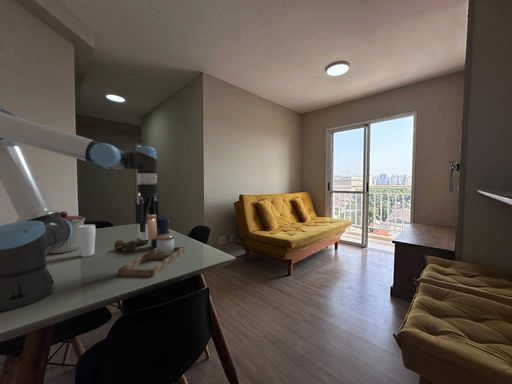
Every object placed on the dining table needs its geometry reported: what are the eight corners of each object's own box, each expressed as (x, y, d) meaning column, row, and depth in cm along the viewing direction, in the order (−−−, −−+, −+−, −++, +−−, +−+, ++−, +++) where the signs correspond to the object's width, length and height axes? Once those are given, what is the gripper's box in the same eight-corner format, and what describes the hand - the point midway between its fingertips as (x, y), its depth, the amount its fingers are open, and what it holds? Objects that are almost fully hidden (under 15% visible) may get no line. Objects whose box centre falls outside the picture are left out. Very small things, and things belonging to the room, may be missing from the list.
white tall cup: (99, 253, 105) (98, 224, 105) (87, 258, 98) (86, 227, 98) (87, 252, 106) (86, 224, 105) (74, 257, 99) (73, 227, 98)
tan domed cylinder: (151, 240, 84) (150, 216, 84) (136, 240, 85) (136, 216, 84) (159, 236, 91) (159, 214, 90) (146, 236, 91) (145, 213, 91)
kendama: (152, 245, 121) (120, 255, 102) (139, 244, 124) (106, 254, 105) (152, 235, 121) (120, 243, 102) (139, 234, 124) (106, 242, 105)
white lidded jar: (169, 258, 98) (169, 238, 97) (152, 258, 98) (152, 237, 98) (177, 252, 106) (177, 233, 106) (162, 252, 107) (161, 233, 106)
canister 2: (152, 245, 119) (152, 214, 118) (170, 243, 122) (169, 213, 121) (149, 250, 110) (148, 217, 109) (168, 248, 113) (168, 216, 112)
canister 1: (76, 243, 122) (75, 208, 121) (93, 248, 114) (92, 210, 113) (33, 253, 105) (31, 212, 104) (49, 258, 97) (47, 215, 96)
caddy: (152, 276, 79) (152, 270, 79) (118, 275, 80) (118, 269, 80) (184, 251, 108) (184, 247, 108) (158, 251, 109) (158, 246, 109)
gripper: (141, 183, 77) (143, 244, 78) (167, 183, 96) (168, 232, 97) (123, 183, 78) (124, 243, 79) (151, 183, 97) (153, 231, 98)
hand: (148, 237), depth 88 cm, fingers closed on tan domed cylinder, 6 cm apart
